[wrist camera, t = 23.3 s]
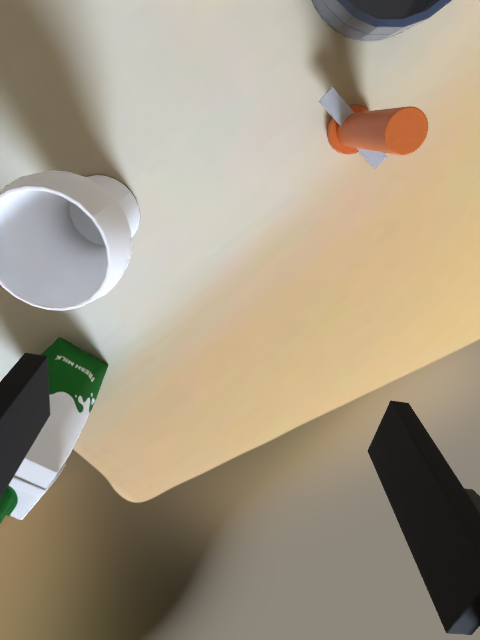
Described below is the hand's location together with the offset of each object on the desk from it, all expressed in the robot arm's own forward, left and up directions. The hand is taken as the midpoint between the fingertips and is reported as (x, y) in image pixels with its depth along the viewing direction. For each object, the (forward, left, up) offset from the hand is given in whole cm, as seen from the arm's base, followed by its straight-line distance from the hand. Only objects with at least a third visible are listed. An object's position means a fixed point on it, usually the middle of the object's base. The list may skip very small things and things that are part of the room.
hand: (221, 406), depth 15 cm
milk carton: (+12, -25, -31) cm, 42 cm away
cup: (-5, -12, -31) cm, 34 cm away
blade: (-5, +15, -31) cm, 35 cm away
